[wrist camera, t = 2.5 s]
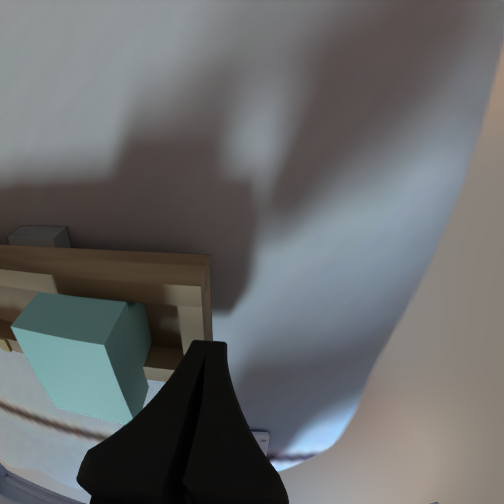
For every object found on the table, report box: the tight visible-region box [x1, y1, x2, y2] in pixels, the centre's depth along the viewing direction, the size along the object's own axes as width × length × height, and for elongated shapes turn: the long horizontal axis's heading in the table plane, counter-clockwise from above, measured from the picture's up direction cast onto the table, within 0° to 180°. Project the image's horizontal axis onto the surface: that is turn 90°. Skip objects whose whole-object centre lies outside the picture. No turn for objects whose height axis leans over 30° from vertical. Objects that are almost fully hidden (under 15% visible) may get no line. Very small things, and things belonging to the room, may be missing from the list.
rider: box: [11, 292, 152, 425], centre depth 13 cm, size 5×4×5 cm
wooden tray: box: [0, 226, 213, 382], centre depth 15 cm, size 7×20×4 cm, turn 88°
